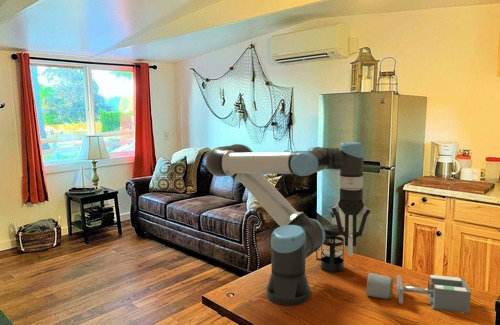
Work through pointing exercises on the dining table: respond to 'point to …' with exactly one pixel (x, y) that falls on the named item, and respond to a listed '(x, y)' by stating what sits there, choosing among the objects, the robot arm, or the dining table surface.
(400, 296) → the plunger
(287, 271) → the robot arm
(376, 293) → the ceramic mug
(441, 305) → the grey bracket housing
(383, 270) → the dining table surface
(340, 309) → the dining table surface
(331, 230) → the french press
